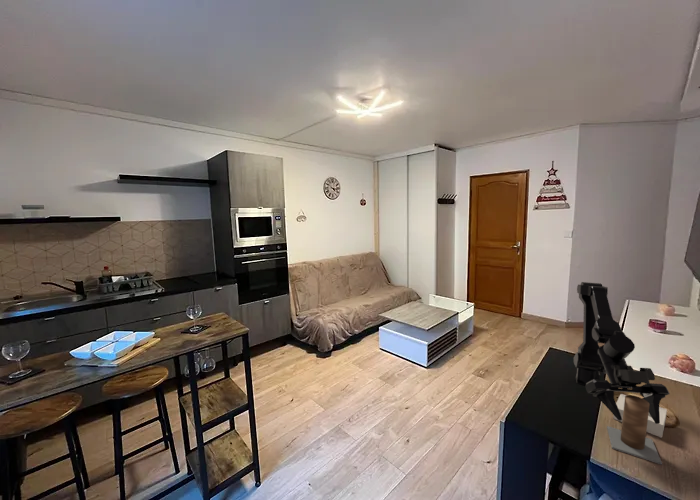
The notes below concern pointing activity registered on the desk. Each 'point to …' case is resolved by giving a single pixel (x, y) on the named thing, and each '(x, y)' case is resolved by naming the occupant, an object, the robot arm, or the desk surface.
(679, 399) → the desk surface
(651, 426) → the frame
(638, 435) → the peg
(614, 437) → the pad
